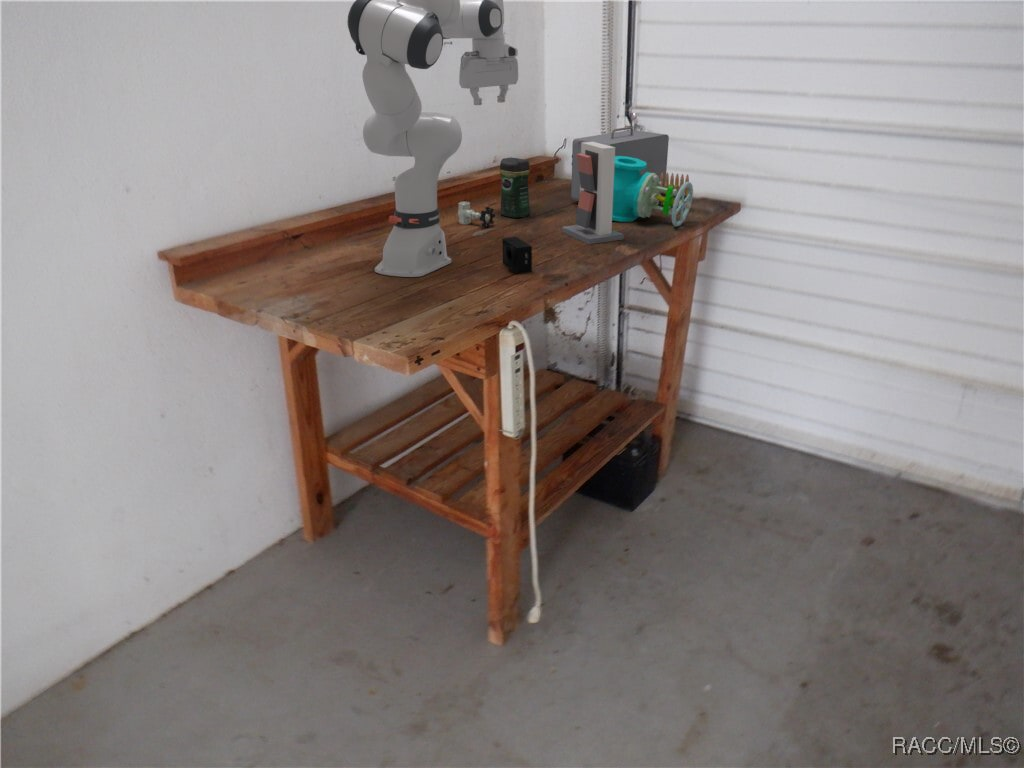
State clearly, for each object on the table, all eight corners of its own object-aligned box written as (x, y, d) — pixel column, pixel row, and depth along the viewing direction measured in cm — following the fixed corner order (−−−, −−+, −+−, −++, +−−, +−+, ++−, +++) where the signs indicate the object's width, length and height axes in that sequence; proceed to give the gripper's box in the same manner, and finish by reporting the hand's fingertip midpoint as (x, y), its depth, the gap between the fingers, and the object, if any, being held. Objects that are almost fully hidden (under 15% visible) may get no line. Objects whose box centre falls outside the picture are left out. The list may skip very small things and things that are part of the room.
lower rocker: (578, 223, 247) (584, 190, 243) (588, 228, 242) (594, 194, 238) (574, 223, 246) (580, 190, 242) (585, 228, 241) (591, 194, 238)
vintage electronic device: (625, 189, 306) (629, 120, 295) (664, 197, 293) (669, 125, 283) (566, 203, 286) (568, 129, 276) (605, 212, 274) (609, 135, 263)
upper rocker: (584, 186, 242) (580, 153, 238) (594, 190, 238) (590, 156, 233) (580, 187, 242) (576, 154, 237) (591, 191, 237) (587, 157, 232)
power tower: (594, 227, 256) (598, 139, 244) (623, 239, 243) (628, 147, 231) (561, 231, 251) (563, 143, 239) (588, 244, 238) (591, 151, 227)
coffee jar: (533, 215, 270) (534, 158, 262) (516, 219, 265) (516, 161, 257) (513, 210, 276) (513, 154, 269) (496, 214, 272) (495, 157, 264)
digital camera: (498, 263, 222) (497, 238, 219) (516, 261, 224) (516, 236, 221) (512, 274, 213) (512, 248, 210) (531, 271, 215) (531, 245, 212)
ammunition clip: (688, 209, 276) (691, 174, 271) (686, 211, 274) (689, 175, 269) (658, 206, 281) (660, 171, 276) (656, 207, 279) (658, 172, 274)
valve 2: (618, 153, 266) (705, 174, 253) (609, 206, 275) (693, 229, 262) (599, 160, 255) (688, 182, 242) (590, 215, 264) (676, 239, 251)
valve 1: (453, 224, 261) (482, 230, 254) (452, 203, 258) (481, 209, 251) (466, 220, 266) (495, 225, 259) (465, 200, 263) (495, 205, 256)
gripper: (469, 52, 214) (471, 107, 220) (521, 49, 228) (522, 101, 233) (452, 51, 218) (455, 106, 224) (505, 49, 231) (506, 100, 237)
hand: (489, 103), depth 229 cm, fingers open, 8 cm apart
